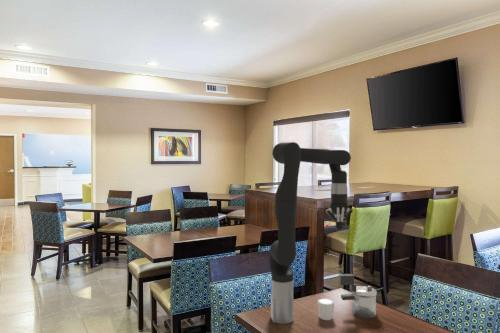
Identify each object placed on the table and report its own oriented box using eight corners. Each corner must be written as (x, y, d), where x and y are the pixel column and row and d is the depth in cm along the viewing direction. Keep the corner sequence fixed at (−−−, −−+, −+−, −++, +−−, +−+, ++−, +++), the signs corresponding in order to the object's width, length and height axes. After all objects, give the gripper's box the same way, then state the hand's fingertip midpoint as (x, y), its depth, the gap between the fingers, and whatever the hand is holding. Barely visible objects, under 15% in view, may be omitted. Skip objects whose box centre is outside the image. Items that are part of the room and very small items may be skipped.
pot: (346, 319, 155) (346, 298, 155) (338, 309, 165) (338, 289, 165) (380, 317, 156) (380, 296, 156) (369, 308, 166) (369, 288, 166)
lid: (343, 297, 154) (343, 279, 154) (335, 289, 165) (335, 271, 165) (380, 296, 156) (381, 277, 156) (370, 287, 166) (370, 270, 166)
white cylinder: (334, 321, 153) (334, 304, 153) (317, 320, 154) (317, 303, 154) (333, 314, 160) (333, 298, 159) (317, 313, 161) (317, 297, 161)
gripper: (328, 193, 167) (328, 231, 167) (355, 193, 168) (355, 230, 168) (323, 192, 174) (322, 228, 174) (349, 191, 175) (349, 227, 176)
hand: (339, 229), depth 171 cm, fingers closed
